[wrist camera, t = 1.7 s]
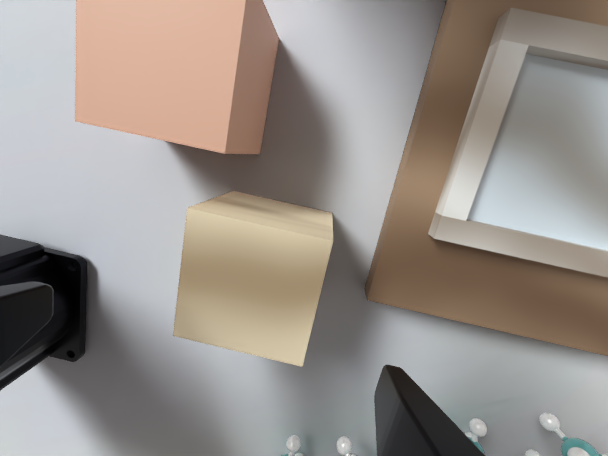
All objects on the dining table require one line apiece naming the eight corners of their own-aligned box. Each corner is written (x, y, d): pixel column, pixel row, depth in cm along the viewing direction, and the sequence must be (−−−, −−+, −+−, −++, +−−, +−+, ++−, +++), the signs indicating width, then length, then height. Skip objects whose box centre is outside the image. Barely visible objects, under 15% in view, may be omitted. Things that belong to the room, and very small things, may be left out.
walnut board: (600, 343, 15) (640, 371, 13) (364, 289, 15) (369, 308, 13) (796, -28, 11) (896, -67, 9) (471, -88, 11) (500, -138, 9)
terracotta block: (260, 154, 14) (224, 153, 9) (160, 132, 14) (74, 121, 10) (279, 39, 13) (249, -30, 8) (169, 16, 13) (77, -64, 8)
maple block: (310, 302, 16) (302, 366, 11) (220, 281, 16) (172, 335, 11) (332, 212, 15) (333, 241, 10) (233, 190, 15) (187, 207, 10)
